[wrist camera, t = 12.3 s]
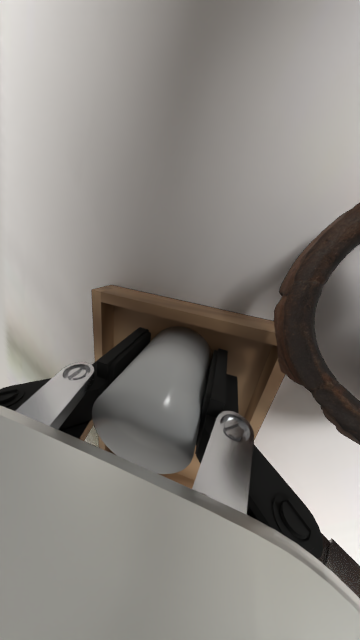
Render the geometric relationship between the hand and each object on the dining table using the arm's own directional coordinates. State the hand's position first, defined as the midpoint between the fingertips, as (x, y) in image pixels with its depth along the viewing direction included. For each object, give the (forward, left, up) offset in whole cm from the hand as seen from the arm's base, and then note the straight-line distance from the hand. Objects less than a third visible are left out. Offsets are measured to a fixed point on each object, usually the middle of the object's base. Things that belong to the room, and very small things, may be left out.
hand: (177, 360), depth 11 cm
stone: (0, 0, -1) cm, 1 cm away
